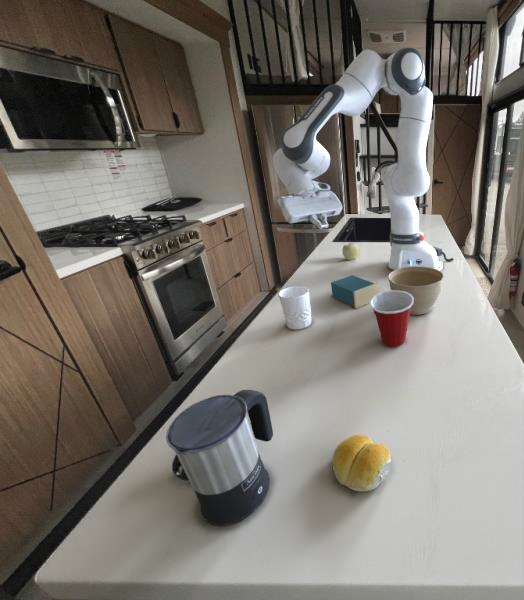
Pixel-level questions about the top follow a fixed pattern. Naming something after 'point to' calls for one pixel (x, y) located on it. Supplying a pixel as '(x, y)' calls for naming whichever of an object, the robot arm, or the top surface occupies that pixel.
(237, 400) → the milk frother
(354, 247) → the fruit
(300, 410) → the top surface
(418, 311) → the planter bowl
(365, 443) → the bread roll
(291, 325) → the white cup
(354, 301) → the teal and cream block
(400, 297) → the plastic cup
